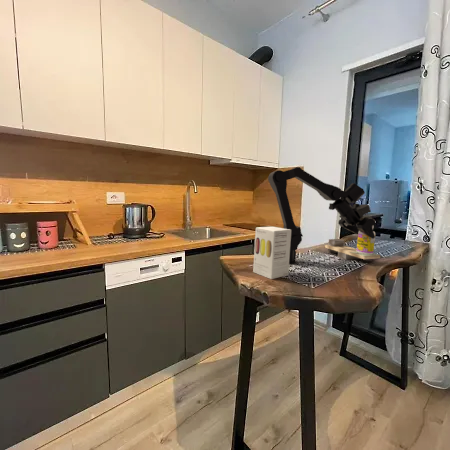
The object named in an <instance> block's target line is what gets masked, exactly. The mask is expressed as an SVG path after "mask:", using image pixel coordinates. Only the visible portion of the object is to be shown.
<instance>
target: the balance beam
mask: <svg viewBox="0 0 450 450" xmlns="http://www.w3.org/2000/svg"><path fill="white" fill-rule="evenodd" d="M344 243H345V240H344V239H339V238H332V239H331V238H330V239H328V244H325V246H324V247H325V249H327V253H328V254H337V258H338V259H339V258H340V259H342V260H345V261H348V260H359V259H361V260H362V259H363V260H371V259H374V260H376V259H381V254H377V253H375V252H373V254H372V255H364V254H359V253H357V251H356V250H357V248H354V247H350V246H347V245H344Z"/></svg>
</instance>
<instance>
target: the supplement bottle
mask: <svg viewBox="0 0 450 450" xmlns="http://www.w3.org/2000/svg"><path fill="white" fill-rule="evenodd" d="M374 225H375V224H374ZM374 225H373V226H372V229H373V232H374V236H375V238H374V239H372V238H370V237H369V236H367V235H365V234H364V233H362V232H360V230H359V232H358V234H357V241H356V249H357V250H356V251H357V253H359V254H364V255H372V254H373V253H374V249H375V241H376V232H375V231H374V227H375V226H374Z"/></svg>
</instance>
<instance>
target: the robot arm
mask: <svg viewBox="0 0 450 450" xmlns="http://www.w3.org/2000/svg"><path fill="white" fill-rule="evenodd" d="M291 179H296V180H298V181H300V182H301V183H303V184H304V185H306V186H308V187H310V188H311V189H313V190H314V191H316V192H317V193H318V194H319V196H320V197H321V198H323V199H324V200H325V201H333V202H330V203H329V206H328V210H329V211H336V212H337V213H338V214H339V218H340V219H339V220H338V223H337V224H338V226H340V227H342V228H344V229H346V230H348V231H350V232H352V233H354V234H356V235H358V232H359V231H360V232H362V233H364V234H365V235H367V236H369V237H370V238H372V239H374V238H375V239H376V235H375V236H374V232H375V231H374V228H373V229H372V226H373V225H375V224H377V223H376V220H375V219H374V218H373V217H364V215H366V214H368V213H371V212H372V211H371V206H370V205H369V204H365V203H363V204H359V203H357V201H358V200H359V199H361V197H363V196H364V194H365V193H366V192H365V190H364V189H363V188H362V187H361V186H359V185H357V184H356V183H355V182H354V183H353V182H352V183H351V184H349V186H348V187H347V188H346V189H344V190H342V188H340V187H338V186H336V185H332V184H329V183H326V182H324V181H322V180H320V179H319V178H317V177H315V176H314V175H312V174H311V173H309V172H308V171H306V170H304V169H302V168H301V167H299V166H297V167H293V168H291V169H288V170H284V171H283V170H275V171H272V172H270V173H269V174H268V177H267V180H268V183H269V185H270V188H271V189H272V191H273V192H274V194H275V197H276V200H277V204H278V208H279V212H280V217H281V221H282V224H283V227H282V228H284V229H290V230H291V242H290V257H289V265H291V264H292V265H293V264H297V258H296V257H297V249H298V246H299V245H300V244H301V243H302V240H303V237H304V236H303V233H302V228H301V226H299V225H298V226H297V225H296V224H295V221H294V217H293V213H292V209H291V206H290V201H289V198H288V194H287V186H288V180H291ZM351 204H353V205H351ZM362 218H363V219H362ZM373 231H374V232H373Z"/></svg>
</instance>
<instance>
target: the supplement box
mask: <svg viewBox="0 0 450 450" xmlns="http://www.w3.org/2000/svg"><path fill="white" fill-rule="evenodd" d="M254 235H255V236H254V248H253V249H254V251H253V267H252V268H253V273H255V274H257V275H259V276H262V277H263V278H264V277H265V278H268V279H270V280H273V279H277V278H281V277H285V276H289V269H290V267H289V266H290V264H289V257H290V242H291V230H290V229H284V228H283V227H277V226H260V227H258V226H257V227H255V234H254Z"/></svg>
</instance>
